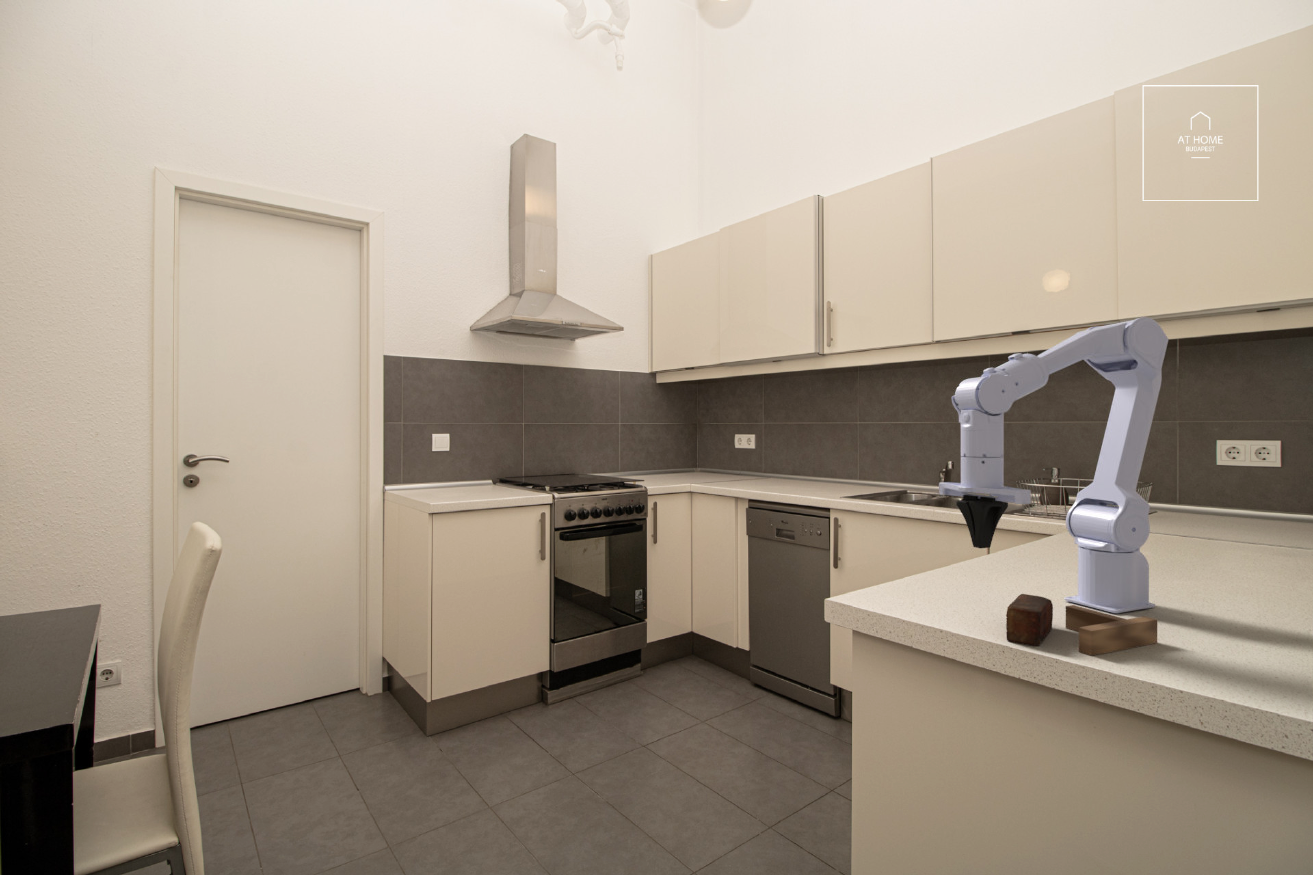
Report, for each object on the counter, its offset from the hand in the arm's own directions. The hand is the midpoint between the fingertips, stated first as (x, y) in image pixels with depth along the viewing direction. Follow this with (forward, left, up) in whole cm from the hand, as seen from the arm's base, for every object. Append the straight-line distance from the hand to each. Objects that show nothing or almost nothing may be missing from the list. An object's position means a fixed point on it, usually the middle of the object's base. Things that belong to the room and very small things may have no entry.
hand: (981, 547), depth 94 cm
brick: (+3, +10, -10) cm, 14 cm away
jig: (-3, +14, -10) cm, 17 cm away
